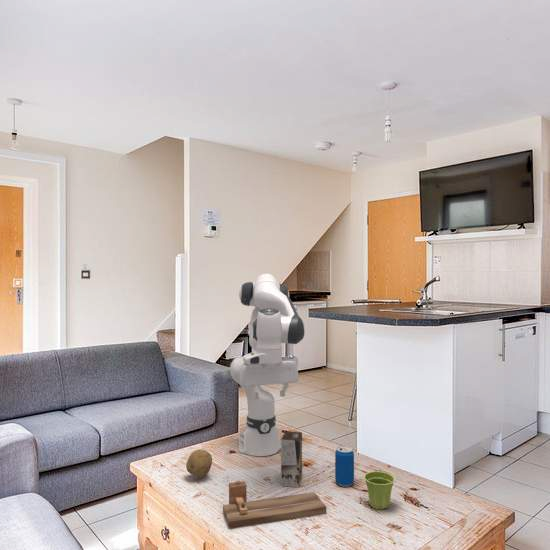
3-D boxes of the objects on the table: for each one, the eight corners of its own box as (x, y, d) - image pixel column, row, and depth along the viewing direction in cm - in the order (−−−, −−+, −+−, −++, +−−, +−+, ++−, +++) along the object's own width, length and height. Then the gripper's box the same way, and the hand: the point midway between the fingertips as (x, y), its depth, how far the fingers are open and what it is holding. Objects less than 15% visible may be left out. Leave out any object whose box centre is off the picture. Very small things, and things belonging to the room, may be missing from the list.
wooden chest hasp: (228, 505, 146) (228, 480, 146) (244, 503, 147) (244, 478, 147) (235, 523, 135) (235, 496, 135) (252, 520, 136) (252, 494, 136)
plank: (222, 511, 141) (222, 504, 141) (314, 498, 150) (314, 491, 150) (229, 528, 132) (229, 521, 132) (326, 513, 140) (326, 506, 140)
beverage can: (340, 477, 165) (340, 444, 165) (357, 482, 161) (357, 448, 161) (332, 484, 160) (331, 449, 160) (348, 489, 156) (348, 453, 156)
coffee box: (299, 487, 157) (298, 440, 157) (280, 486, 159) (280, 439, 159) (302, 476, 166) (302, 431, 166) (285, 474, 168) (285, 430, 168)
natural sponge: (188, 485, 160) (188, 456, 160) (184, 474, 168) (184, 447, 168) (214, 481, 162) (214, 453, 162) (209, 471, 171) (209, 444, 171)
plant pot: (393, 515, 139) (393, 486, 139) (361, 509, 143) (361, 481, 143) (396, 500, 148) (396, 473, 148) (366, 495, 151) (366, 469, 151)
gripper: (295, 353, 163) (295, 392, 163) (238, 356, 157) (238, 397, 157) (301, 356, 157) (301, 397, 157) (242, 359, 151) (242, 401, 151)
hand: (269, 397), depth 157 cm, fingers open, 8 cm apart
